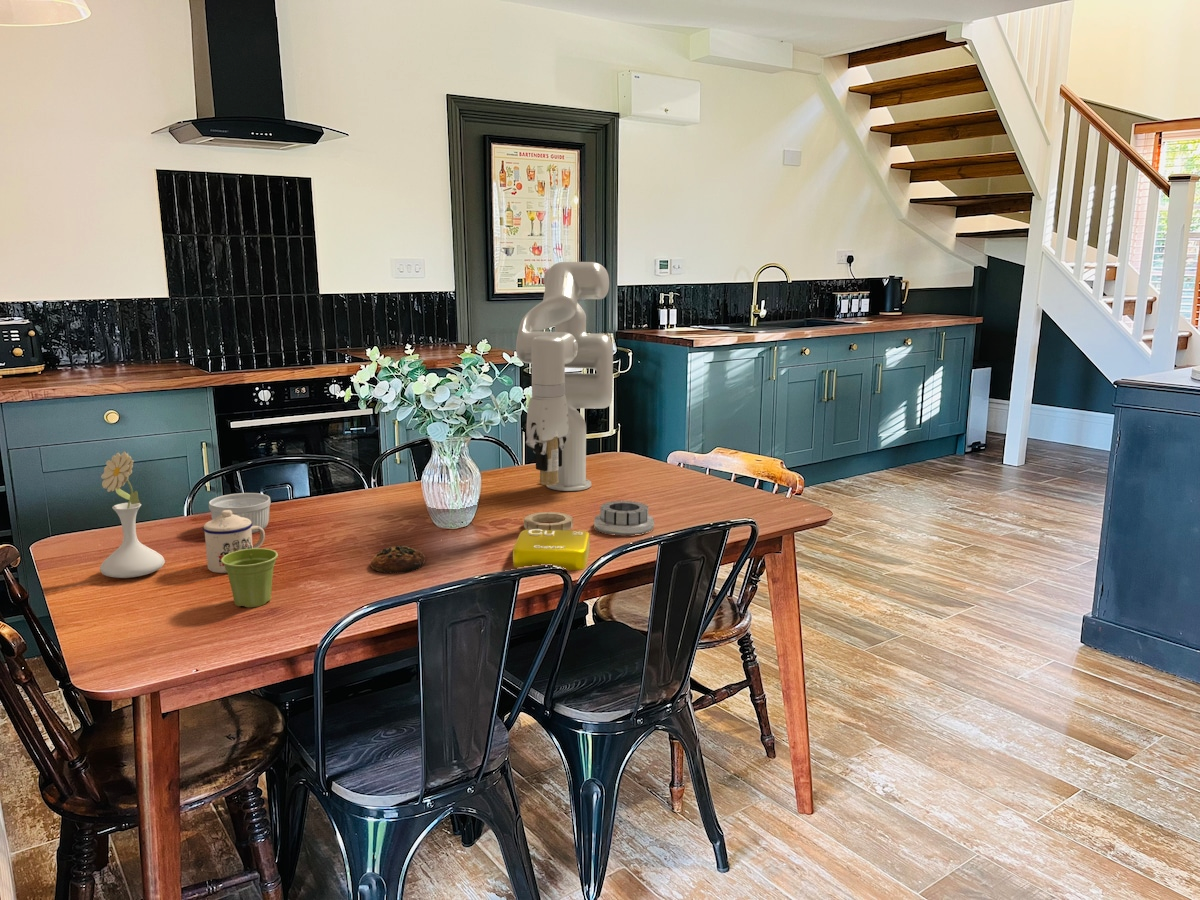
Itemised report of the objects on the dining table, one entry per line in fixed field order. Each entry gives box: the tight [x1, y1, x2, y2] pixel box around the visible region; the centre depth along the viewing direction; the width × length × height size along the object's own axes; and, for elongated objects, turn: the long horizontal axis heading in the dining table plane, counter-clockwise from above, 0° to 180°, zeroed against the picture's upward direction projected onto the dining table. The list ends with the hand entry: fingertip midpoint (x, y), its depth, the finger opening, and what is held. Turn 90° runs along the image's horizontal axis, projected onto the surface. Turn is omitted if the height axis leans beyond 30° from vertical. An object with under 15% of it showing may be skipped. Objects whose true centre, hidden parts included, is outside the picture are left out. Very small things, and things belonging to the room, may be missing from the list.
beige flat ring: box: [523, 511, 574, 531], centre depth 208 cm, size 11×11×2 cm
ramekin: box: [208, 492, 272, 534], centre depth 203 cm, size 13×13×7 cm
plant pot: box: [221, 547, 279, 608], centre depth 159 cm, size 9×9×9 cm
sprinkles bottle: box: [539, 431, 559, 486], centre depth 205 cm, size 5×5×13 cm
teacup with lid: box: [202, 510, 266, 574], centre depth 178 cm, size 12×9×12 cm
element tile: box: [512, 529, 591, 571], centre depth 185 cm, size 15×15×5 cm
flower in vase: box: [99, 451, 166, 579], centre depth 171 cm, size 13×11×25 cm
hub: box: [593, 500, 655, 535], centre depth 207 cm, size 14×14×5 cm
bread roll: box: [370, 545, 426, 574], centre depth 180 cm, size 11×11×5 cm
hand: (549, 467), depth 206 cm, fingers closed on sprinkles bottle, 4 cm apart
